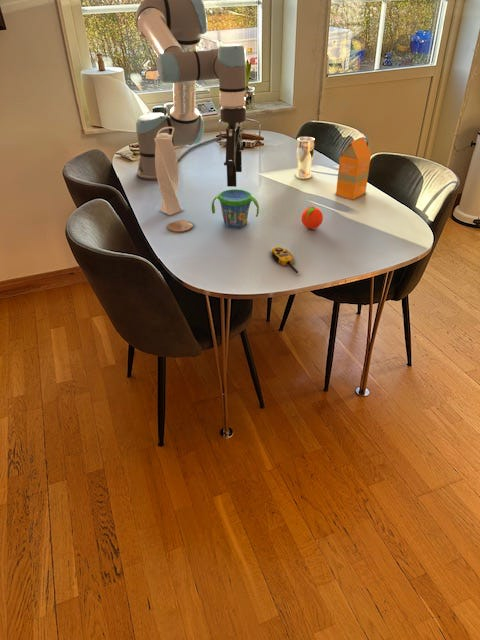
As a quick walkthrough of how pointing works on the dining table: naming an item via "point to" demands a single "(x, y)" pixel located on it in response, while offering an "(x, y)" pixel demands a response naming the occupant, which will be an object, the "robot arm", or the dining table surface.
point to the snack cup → (235, 207)
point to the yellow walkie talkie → (283, 257)
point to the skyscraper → (167, 172)
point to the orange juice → (353, 170)
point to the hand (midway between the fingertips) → (234, 178)
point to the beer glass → (304, 156)
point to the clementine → (312, 217)
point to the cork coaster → (180, 226)
